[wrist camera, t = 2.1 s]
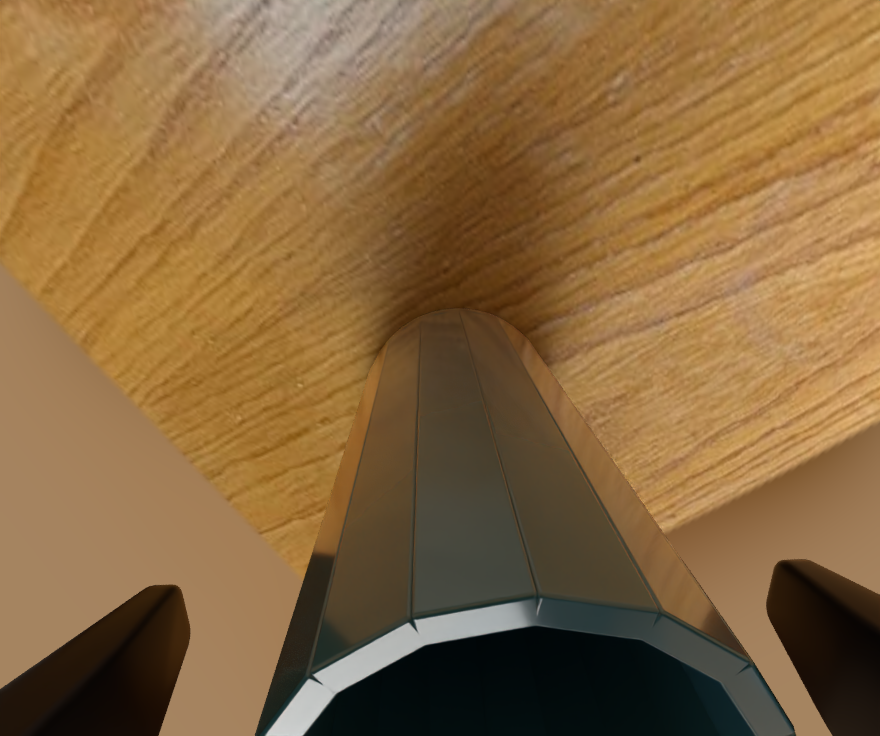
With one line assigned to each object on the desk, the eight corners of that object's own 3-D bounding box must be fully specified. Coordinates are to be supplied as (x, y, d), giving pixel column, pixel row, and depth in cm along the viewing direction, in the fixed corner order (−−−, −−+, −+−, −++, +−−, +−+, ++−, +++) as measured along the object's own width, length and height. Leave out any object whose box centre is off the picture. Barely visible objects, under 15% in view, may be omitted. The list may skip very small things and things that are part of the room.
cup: (335, 418, 16) (152, 877, 5) (431, 271, 14) (448, 488, 4) (478, 499, 17) (567, 1016, 6) (580, 370, 15) (913, 752, 5)
